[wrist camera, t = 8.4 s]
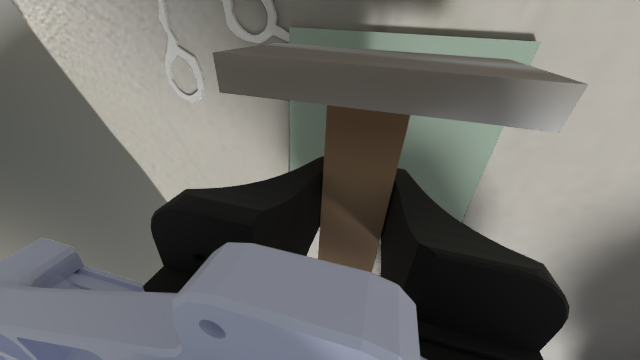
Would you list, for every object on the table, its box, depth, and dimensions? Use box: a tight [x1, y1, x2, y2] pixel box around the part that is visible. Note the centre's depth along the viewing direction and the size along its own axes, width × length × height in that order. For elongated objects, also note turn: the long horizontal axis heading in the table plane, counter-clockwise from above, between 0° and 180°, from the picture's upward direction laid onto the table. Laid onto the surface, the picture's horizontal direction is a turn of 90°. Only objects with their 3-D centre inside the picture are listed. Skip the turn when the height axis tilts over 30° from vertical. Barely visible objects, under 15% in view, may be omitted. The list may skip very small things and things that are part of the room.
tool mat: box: [289, 27, 540, 245], centre depth 17 cm, size 15×13×1 cm
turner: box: [213, 43, 588, 273], centre depth 12 cm, size 13×10×5 cm
